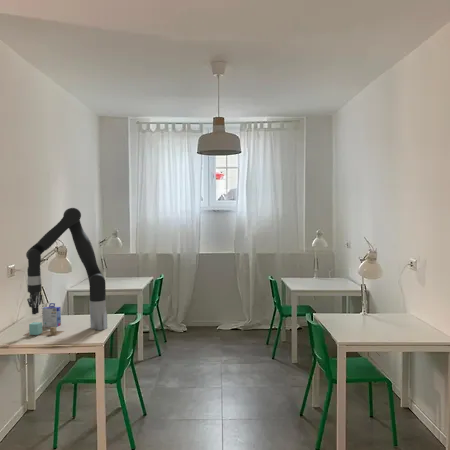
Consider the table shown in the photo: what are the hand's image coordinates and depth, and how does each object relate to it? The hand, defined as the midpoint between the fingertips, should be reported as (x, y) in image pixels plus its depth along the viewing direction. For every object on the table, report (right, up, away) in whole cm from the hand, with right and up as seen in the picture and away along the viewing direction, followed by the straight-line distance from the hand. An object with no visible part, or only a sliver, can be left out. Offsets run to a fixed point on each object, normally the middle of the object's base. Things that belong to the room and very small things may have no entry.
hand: (35, 313), depth 294 cm
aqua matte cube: (0, -12, 0) cm, 12 cm away
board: (+4, -13, +4) cm, 14 cm away
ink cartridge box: (+2, -12, +22) cm, 26 cm away
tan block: (+10, -12, 0) cm, 16 cm away
